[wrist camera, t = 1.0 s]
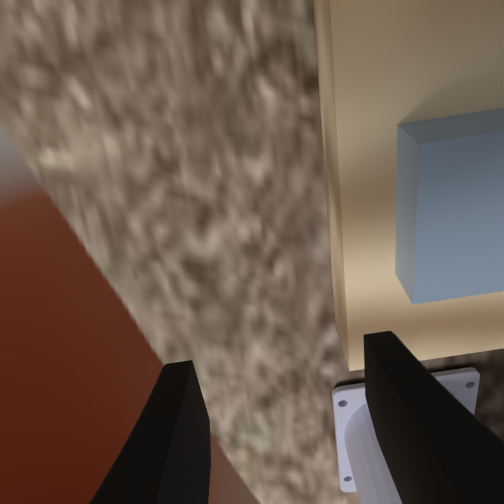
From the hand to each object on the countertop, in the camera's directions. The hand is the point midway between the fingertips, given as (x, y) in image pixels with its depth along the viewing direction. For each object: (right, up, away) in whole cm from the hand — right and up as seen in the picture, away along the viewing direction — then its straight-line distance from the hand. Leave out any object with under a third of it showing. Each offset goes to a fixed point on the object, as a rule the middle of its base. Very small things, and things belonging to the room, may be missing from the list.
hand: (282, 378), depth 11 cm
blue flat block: (+9, +5, +6) cm, 12 cm away
